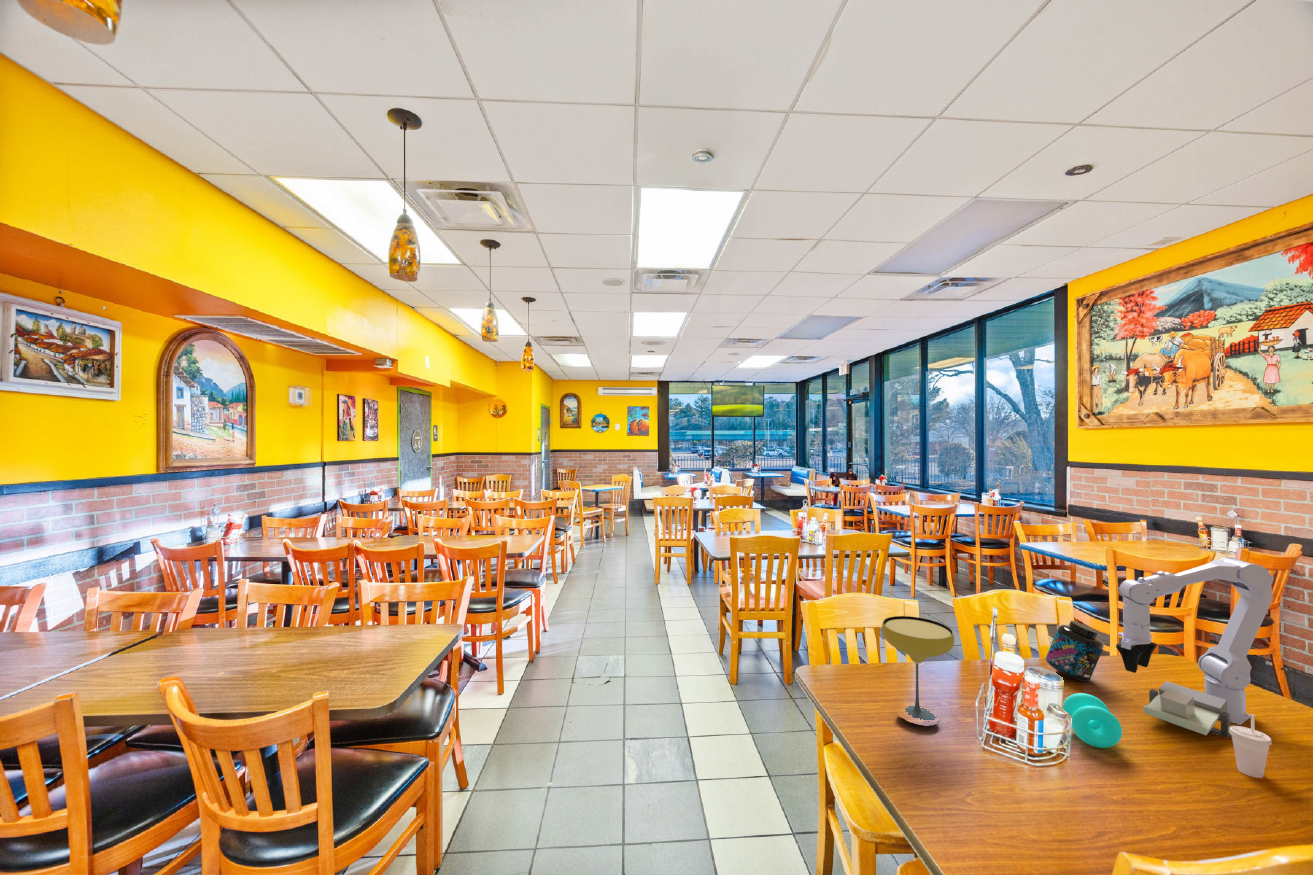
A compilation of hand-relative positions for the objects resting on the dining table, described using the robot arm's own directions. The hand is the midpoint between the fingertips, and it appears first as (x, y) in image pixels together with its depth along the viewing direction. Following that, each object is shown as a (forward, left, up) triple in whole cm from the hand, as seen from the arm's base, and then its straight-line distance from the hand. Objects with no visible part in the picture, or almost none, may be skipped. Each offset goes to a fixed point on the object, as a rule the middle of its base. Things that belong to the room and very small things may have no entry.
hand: (1136, 668), depth 148 cm
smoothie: (+18, +26, -11) cm, 33 cm away
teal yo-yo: (+33, +2, -11) cm, 35 cm away
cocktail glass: (+63, -26, -11) cm, 69 cm away
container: (-4, -17, -11) cm, 21 cm away
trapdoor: (+1, +11, -5) cm, 12 cm away
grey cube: (+7, +11, -6) cm, 14 cm away
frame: (+1, +11, -10) cm, 15 cm away
